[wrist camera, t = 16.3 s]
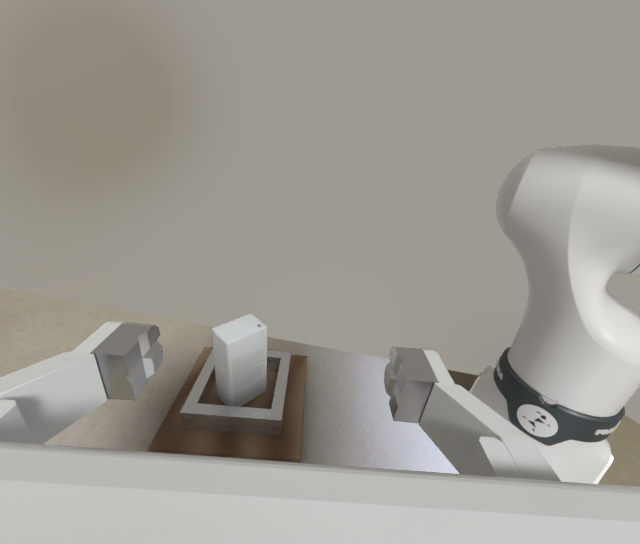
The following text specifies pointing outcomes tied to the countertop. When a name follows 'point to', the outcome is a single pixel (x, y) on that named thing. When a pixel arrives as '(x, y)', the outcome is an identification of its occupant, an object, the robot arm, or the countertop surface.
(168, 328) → the countertop surface
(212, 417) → the socket board
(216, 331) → the skincare box
